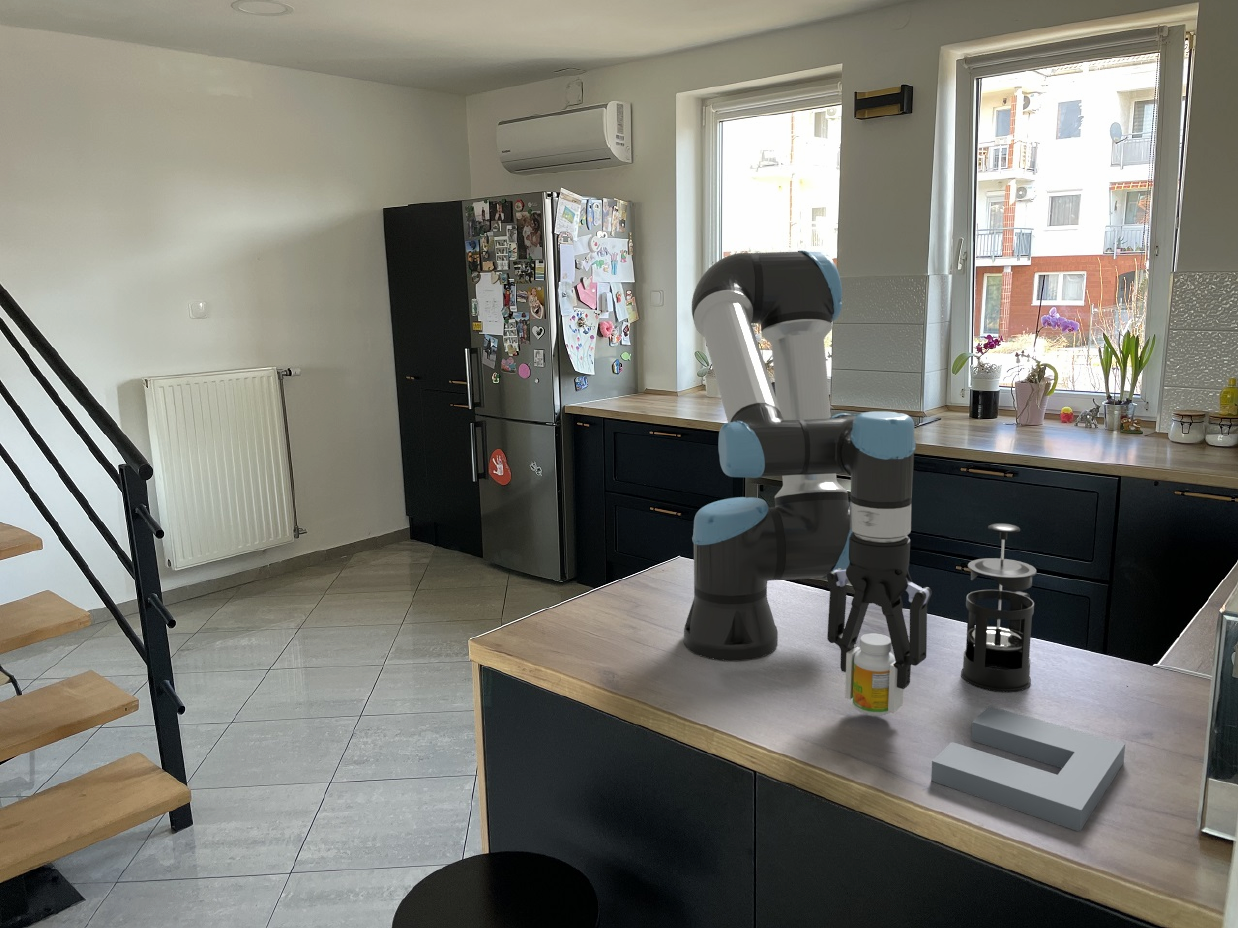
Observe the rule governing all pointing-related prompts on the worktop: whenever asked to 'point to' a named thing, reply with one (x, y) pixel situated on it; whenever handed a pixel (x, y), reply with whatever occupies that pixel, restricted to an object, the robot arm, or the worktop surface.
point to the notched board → (1026, 787)
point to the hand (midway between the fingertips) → (873, 701)
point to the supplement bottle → (872, 674)
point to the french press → (998, 642)
